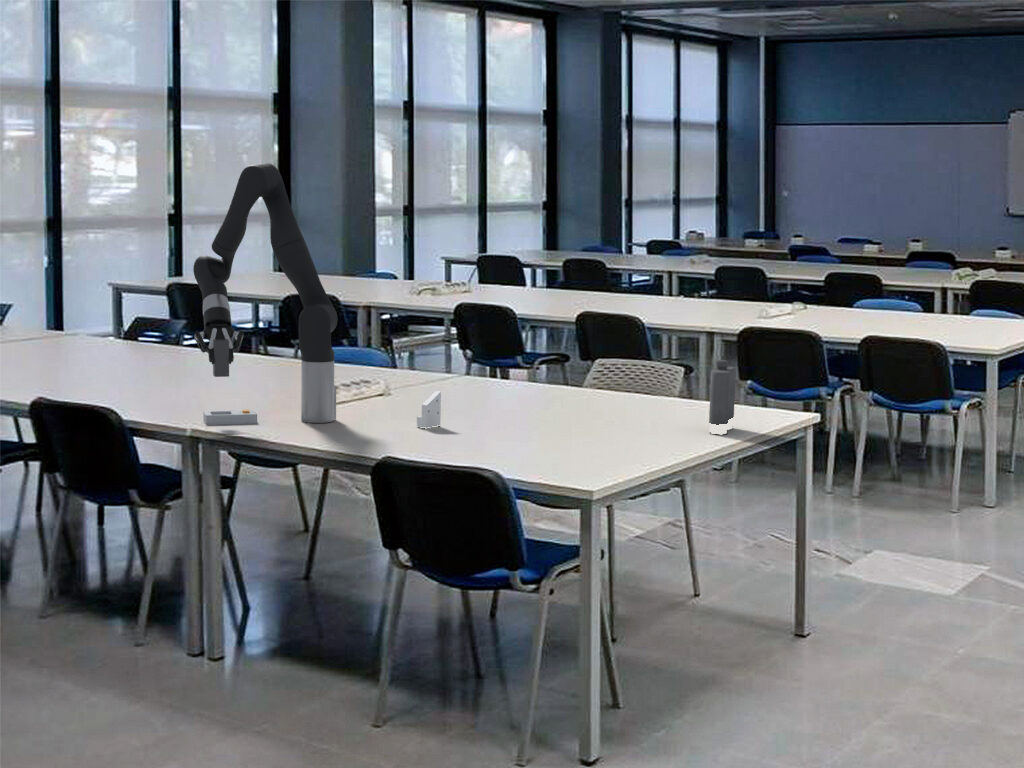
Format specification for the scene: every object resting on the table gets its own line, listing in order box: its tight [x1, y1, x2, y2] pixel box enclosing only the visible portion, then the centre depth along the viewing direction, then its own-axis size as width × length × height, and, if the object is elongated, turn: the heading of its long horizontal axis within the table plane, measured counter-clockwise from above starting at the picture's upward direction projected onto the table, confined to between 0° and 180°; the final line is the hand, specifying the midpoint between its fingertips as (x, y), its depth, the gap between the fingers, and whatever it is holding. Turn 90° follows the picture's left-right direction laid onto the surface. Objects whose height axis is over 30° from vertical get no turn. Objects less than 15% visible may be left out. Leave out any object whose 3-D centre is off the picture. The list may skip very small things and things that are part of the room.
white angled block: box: [416, 390, 442, 428], centre depth 423 cm, size 4×10×9 cm
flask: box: [708, 359, 737, 425], centre depth 427 cm, size 15×6×20 cm, turn 162°
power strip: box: [202, 409, 258, 426], centre depth 421 cm, size 14×7×4 cm, turn 107°
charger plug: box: [212, 339, 230, 378], centre depth 418 cm, size 4×4×10 cm
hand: (221, 362), depth 417 cm, fingers closed on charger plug, 4 cm apart
